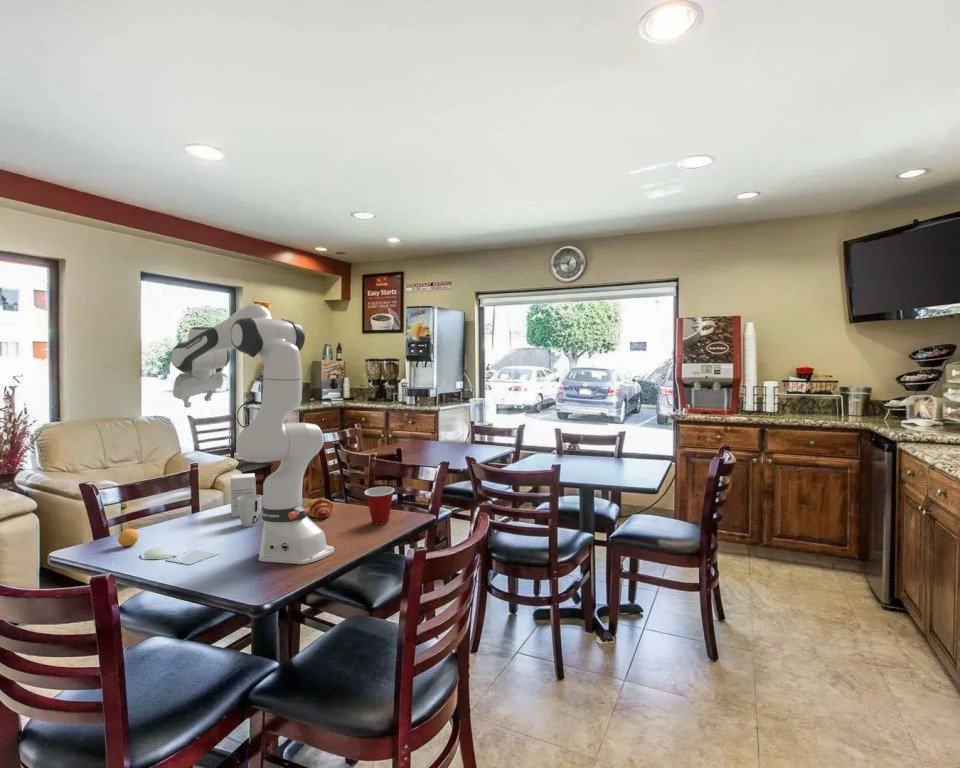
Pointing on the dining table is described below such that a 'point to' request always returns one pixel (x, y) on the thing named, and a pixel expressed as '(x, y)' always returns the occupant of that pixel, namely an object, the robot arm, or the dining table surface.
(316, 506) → the croissant
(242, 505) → the cup
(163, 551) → the disc
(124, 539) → the ball
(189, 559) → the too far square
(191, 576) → the dining table surface
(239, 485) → the supplement box
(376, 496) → the plastic cup
